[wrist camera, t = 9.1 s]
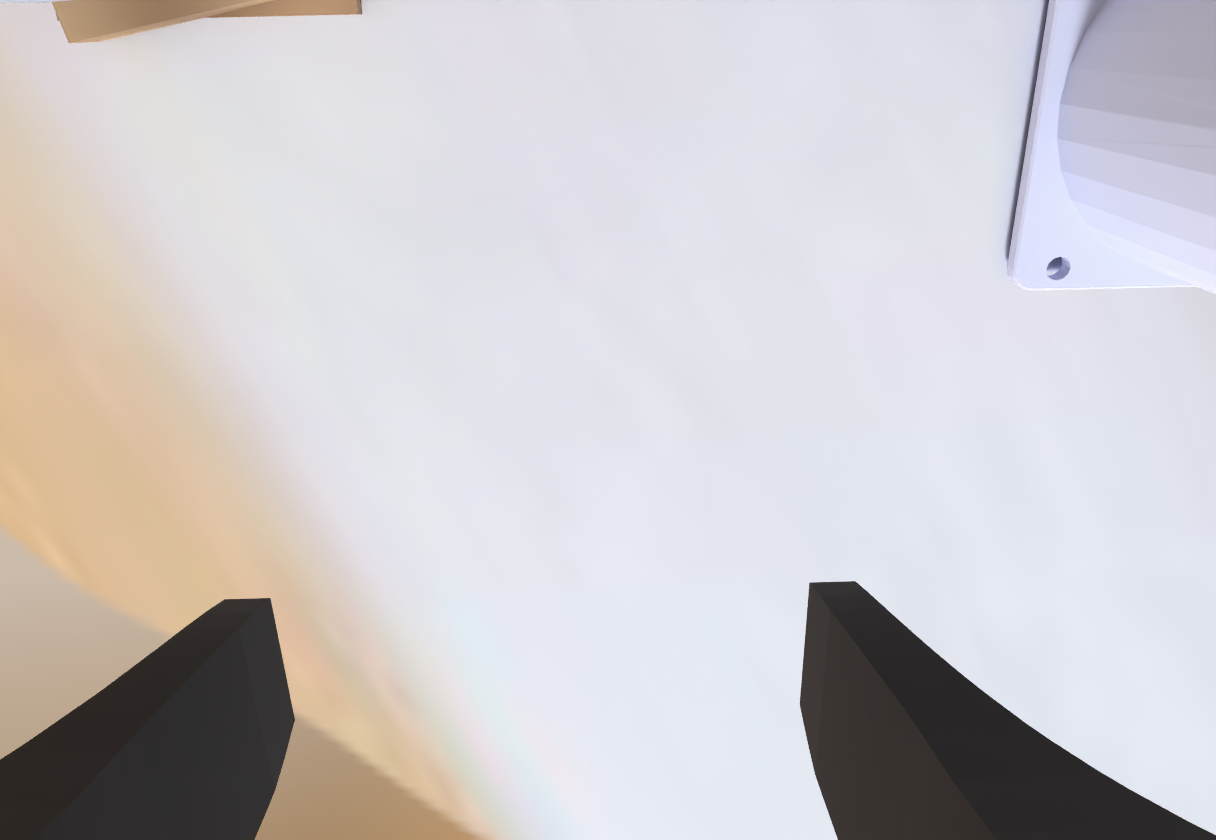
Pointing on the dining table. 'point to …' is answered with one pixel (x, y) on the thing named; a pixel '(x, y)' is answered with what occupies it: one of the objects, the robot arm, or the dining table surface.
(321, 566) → the dining table surface
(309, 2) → the slab bottom
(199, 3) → the slab top
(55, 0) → the cube
